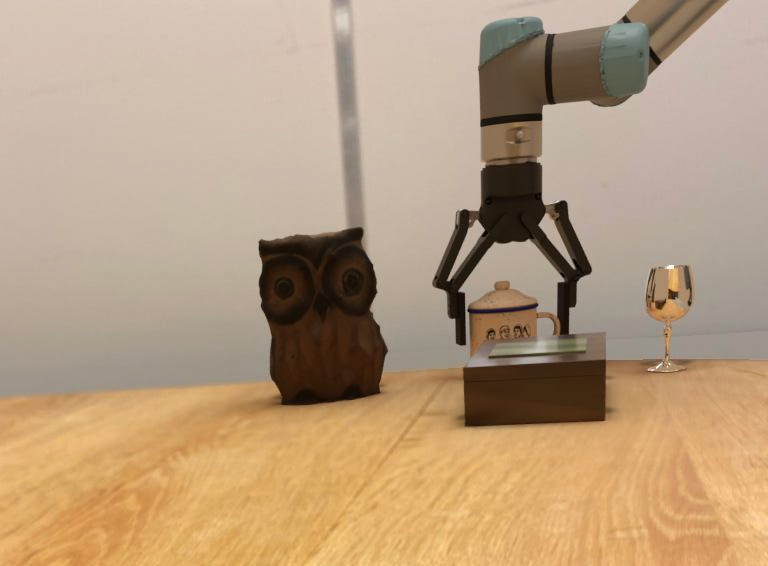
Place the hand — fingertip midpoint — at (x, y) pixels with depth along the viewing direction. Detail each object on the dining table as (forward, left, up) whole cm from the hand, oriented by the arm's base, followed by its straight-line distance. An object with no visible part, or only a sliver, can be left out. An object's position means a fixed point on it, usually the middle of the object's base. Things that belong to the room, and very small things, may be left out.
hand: (512, 339), depth 139 cm
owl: (+25, +2, -4) cm, 25 cm away
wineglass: (-16, +11, -4) cm, 20 cm away
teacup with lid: (0, 0, -4) cm, 4 cm away
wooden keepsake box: (+4, +24, -4) cm, 25 cm away
